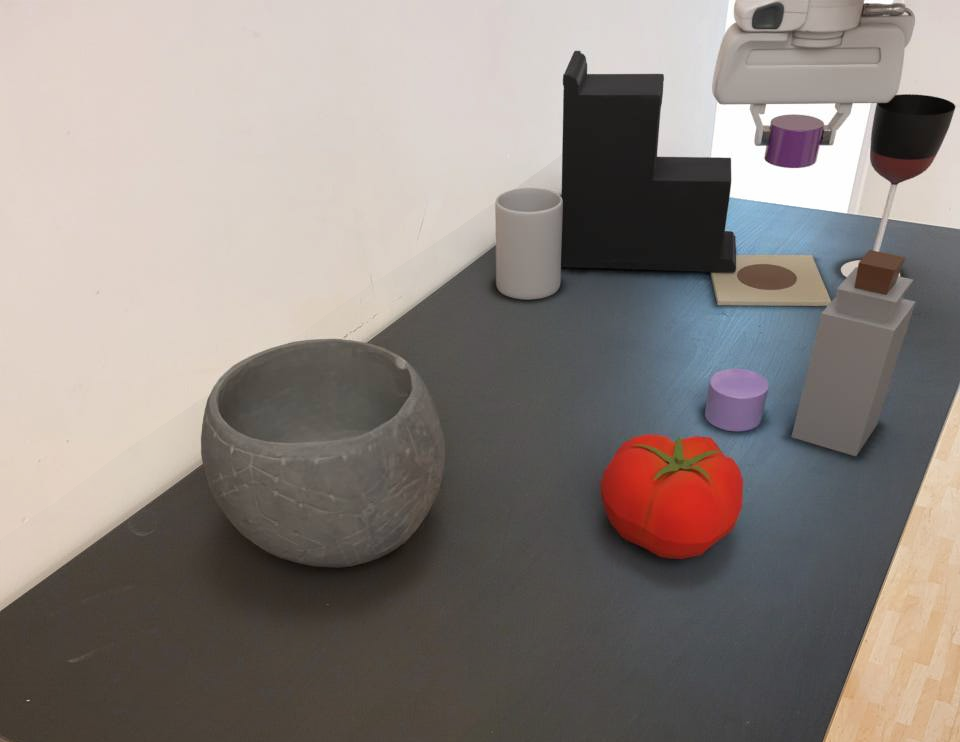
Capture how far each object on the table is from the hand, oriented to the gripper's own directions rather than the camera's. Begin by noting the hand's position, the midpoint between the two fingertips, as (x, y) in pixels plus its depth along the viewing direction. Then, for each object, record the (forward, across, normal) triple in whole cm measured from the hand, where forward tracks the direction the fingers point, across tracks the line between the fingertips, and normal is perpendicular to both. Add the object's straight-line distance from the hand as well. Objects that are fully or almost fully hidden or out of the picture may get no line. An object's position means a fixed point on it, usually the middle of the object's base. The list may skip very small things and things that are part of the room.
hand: (792, 144), depth 109 cm
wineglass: (+17, -14, -4) cm, 23 cm away
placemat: (+17, 0, -2) cm, 17 cm away
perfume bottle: (+17, -2, +34) cm, 38 cm away
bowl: (+18, +47, +52) cm, 72 cm away
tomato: (+17, +16, +51) cm, 57 cm away
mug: (+17, +31, -2) cm, 35 cm away
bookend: (+17, +14, -9) cm, 24 cm away
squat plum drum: (+2, 0, 0) cm, 2 cm away
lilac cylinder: (+17, +8, +31) cm, 37 cm away
